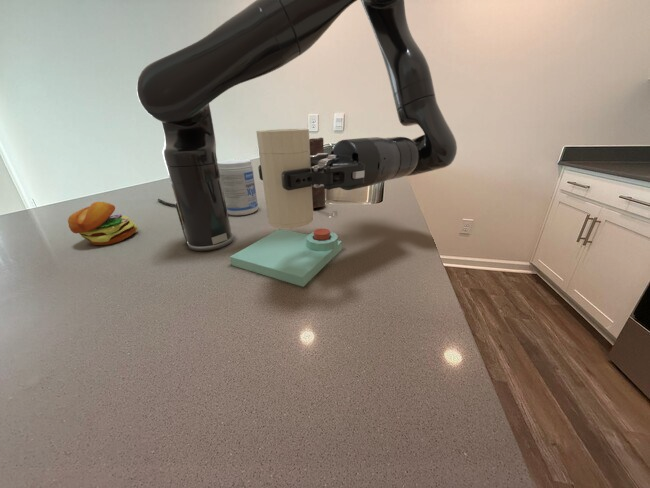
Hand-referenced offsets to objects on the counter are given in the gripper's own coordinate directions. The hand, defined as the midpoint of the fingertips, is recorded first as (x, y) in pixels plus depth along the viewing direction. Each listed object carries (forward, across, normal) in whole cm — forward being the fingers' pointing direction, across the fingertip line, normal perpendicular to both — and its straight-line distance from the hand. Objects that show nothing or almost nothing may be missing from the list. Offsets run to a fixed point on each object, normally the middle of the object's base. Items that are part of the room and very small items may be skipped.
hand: (271, 177), depth 33 cm
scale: (-6, -9, +18) cm, 21 cm away
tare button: (-12, -7, +15) cm, 20 cm away
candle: (-28, -33, +18) cm, 47 cm away
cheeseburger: (+23, -44, +18) cm, 53 cm away
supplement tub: (-9, -44, +18) cm, 49 cm away
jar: (-2, 0, +6) cm, 7 cm away
